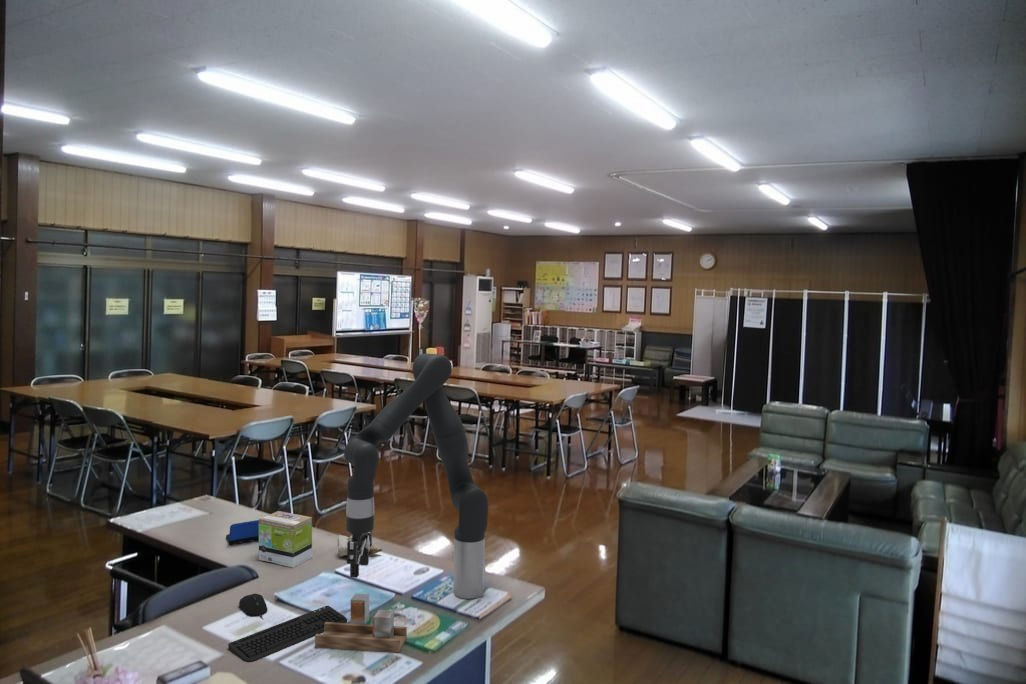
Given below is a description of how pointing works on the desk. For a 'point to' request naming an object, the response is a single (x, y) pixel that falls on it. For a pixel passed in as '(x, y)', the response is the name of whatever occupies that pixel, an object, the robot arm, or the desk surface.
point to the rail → (364, 635)
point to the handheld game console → (243, 532)
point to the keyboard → (284, 634)
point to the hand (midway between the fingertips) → (359, 570)
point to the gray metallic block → (360, 609)
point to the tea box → (285, 538)
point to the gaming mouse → (253, 605)
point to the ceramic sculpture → (343, 546)
